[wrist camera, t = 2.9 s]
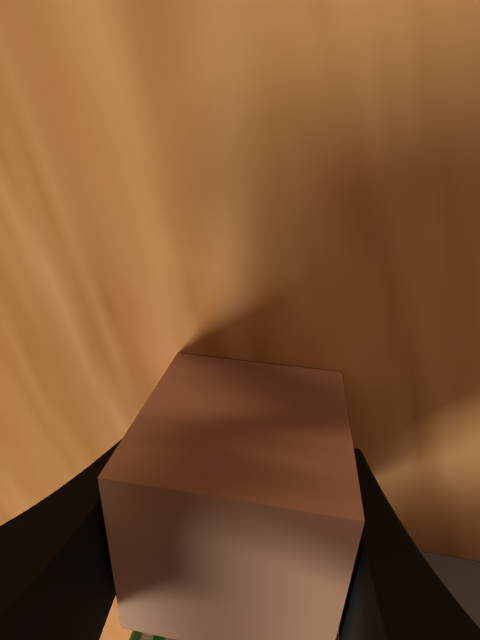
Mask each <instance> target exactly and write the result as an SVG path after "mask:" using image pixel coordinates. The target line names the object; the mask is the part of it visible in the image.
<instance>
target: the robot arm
mask: <svg viewBox="0 0 480 640" xmlns="http://www.w3.org/2000/svg"><path fill="white" fill-rule="evenodd" d="M122 439H123V438H122ZM122 439H121V440H122ZM121 440H120V441H119V442H118V443H117V444H115V445H114V446H113V447H112V448H111V449H110V450H108V451H107V452H106V453H105V454H103V455H102V456H101V457H100V458H98V459H97V460H96V461H95V462H94V463H92V464H91V465H90V466H89V467H87V468H86V469H85V470H83V471H82V472H81V473H79V474H78V475H77V476H75V477H74V478H73V479H71V480H70V481H69V482H67V483H66V484H65V485H63V486H62V487H61V488H59V489H58V490H57V491H55V492H54V493H52V494H51V495H49V496H48V497H46V498H45V499H43V500H42V501H40V502H39V503H37V504H36V505H34V506H33V507H31V508H30V509H28V510H26V511H25V512H23V513H22V514H20V515H18V516H17V517H15V518H13V519H12V520H10V521H8V522H6V523H5V524H3V525H1V526H0V640H99V638H100V636H101V633H102V630H103V627H104V625H105V622H106V619H107V616H108V614H109V611H110V608H111V606H112V603H113V600H114V598H115V595H116V591H115V585H114V578H113V572H112V566H111V559H110V553H109V547H108V540H107V534H106V528H105V521H104V515H103V509H102V502H101V496H100V490H99V483H98V476H99V475H100V473H101V471H102V470H103V468H104V467H105V465H106V464H107V462H108V461H109V459H110V457H111V456H112V454H113V453H114V451H115V450H116V448H117V447H118V445H119V443H120V442H121ZM354 454H355V460H356V467H357V473H358V480H359V486H360V493H361V499H362V506H363V512H364V519H365V523H364V527H363V531H362V535H361V539H360V543H359V547H358V551H357V555H356V559H355V563H354V567H353V571H352V575H351V579H350V583H349V588H348V592H347V596H346V600H345V604H344V608H343V612H342V616H341V620H340V624H339V638H340V640H480V628H479V627H478V626H477V624H476V623H475V622H474V621H473V620H472V619H471V617H470V616H469V615H468V614H467V612H466V611H465V610H464V609H463V607H462V606H461V605H460V604H459V603H458V601H457V600H456V599H455V598H454V596H453V595H452V594H451V593H450V591H449V590H448V589H447V587H446V586H445V585H444V583H443V582H442V581H441V579H440V578H439V577H438V576H437V574H436V573H435V572H434V570H433V569H432V567H431V566H430V565H429V563H428V562H427V560H426V559H425V558H424V556H423V555H422V553H421V552H420V550H419V549H418V547H417V546H416V545H415V543H414V542H413V540H412V539H411V537H410V536H409V534H408V533H407V531H406V529H405V528H404V526H403V525H402V523H401V522H400V520H399V518H398V517H397V515H396V513H395V512H394V510H393V508H392V507H391V505H390V504H389V502H388V500H387V498H386V497H385V495H384V493H383V492H382V490H381V488H380V486H379V484H378V482H377V481H376V479H375V477H374V475H373V473H372V471H371V469H370V467H369V465H368V463H367V461H366V459H365V457H364V455H363V453H362V452H361V450H360V449H356V448H354Z"/></svg>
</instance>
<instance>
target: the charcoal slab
mask: <svg viewBox="0 0 480 640" xmlns="http://www.w3.org/2000/svg"><path fill="white" fill-rule="evenodd" d="M420 552H421V551H420ZM421 553H422V555H423V556H424V558H425V559H426V560H427V562H428V563H429V565H430V566H431V567H432V569H433V570H434V572H435V573H436V574H437V576H438V577H439V578H440V579H441V581H442V582H443V583H444V585H445V586H446V587H447V589H448V590H449V591H450V593H451V594H452V595H453V596H454V598H455V599H456V600H457V601H458V603H459V604H460V605H461V606H462V607H463V609H464V610H465V611H466V612H467V614H468V615H469V616H470V617H471V619H472V620H473V621H474V622H475V623H476V624H477V626H478V627H479V628H480V562H479V561H473V560H467V559H461V558H455V557H450V556H444V555H438V554H432V553H426V552H421Z"/></svg>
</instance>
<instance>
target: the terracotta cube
mask: <svg viewBox="0 0 480 640" xmlns="http://www.w3.org/2000/svg"><path fill="white" fill-rule="evenodd" d="M98 483H99V490H100V496H101V502H102V509H103V515H104V521H105V528H106V534H107V540H108V547H109V553H110V559H111V566H112V572H113V578H114V585H115V591H116V597H117V604H118V610H119V616H120V623H121V628H124V629H129V630H134V631H138V632H143V633H148V634H152V635H157V636H161V637H166V638H171V639H175V640H336V636H337V632H338V628H339V624H340V620H341V616H342V612H343V608H344V604H345V600H346V596H347V592H348V588H349V583H350V579H351V575H352V571H353V567H354V563H355V559H356V555H357V551H358V547H359V543H360V539H361V535H362V531H363V527H364V523H365V519H364V512H363V506H362V499H361V493H360V486H359V480H358V473H357V467H356V460H355V454H354V447H353V441H352V434H351V428H350V421H349V415H348V408H347V402H346V395H345V389H344V382H343V376H342V372H339V371H330V370H321V369H313V368H304V367H295V366H286V365H278V364H269V363H260V362H251V361H243V360H234V359H225V358H216V357H208V356H199V355H190V354H181V353H177V355H176V356H175V358H174V359H173V361H172V362H171V364H170V366H169V367H168V369H167V370H166V372H165V373H164V375H163V376H162V378H161V380H160V381H159V383H158V384H157V386H156V387H155V389H154V390H153V392H152V394H151V395H150V397H149V398H148V400H147V401H146V403H145V404H144V406H143V408H142V409H141V411H140V412H139V414H138V415H137V417H136V418H135V420H134V422H133V423H132V425H131V426H130V428H129V429H128V431H127V432H126V434H125V436H124V437H123V439H122V440H121V442H120V443H119V445H118V447H117V448H116V450H115V451H114V453H113V454H112V456H111V457H110V459H109V461H108V462H107V464H106V465H105V467H104V468H103V470H102V471H101V473H100V475H99V476H98Z"/></svg>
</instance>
